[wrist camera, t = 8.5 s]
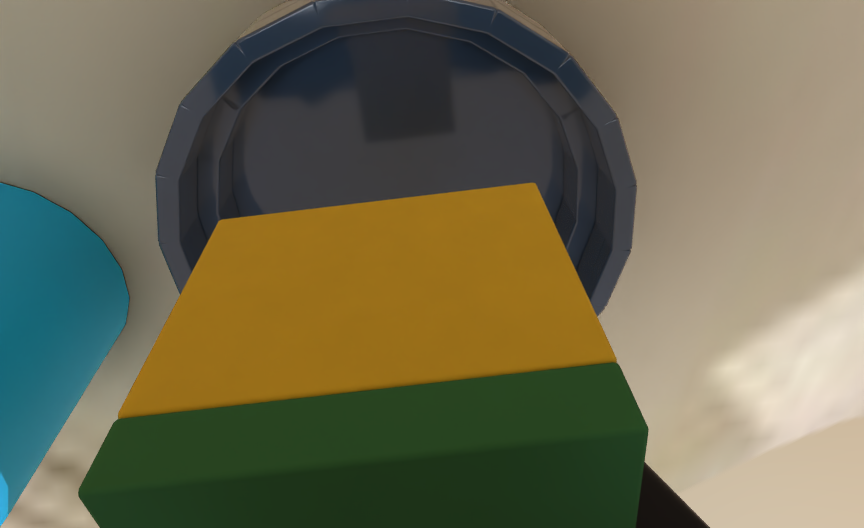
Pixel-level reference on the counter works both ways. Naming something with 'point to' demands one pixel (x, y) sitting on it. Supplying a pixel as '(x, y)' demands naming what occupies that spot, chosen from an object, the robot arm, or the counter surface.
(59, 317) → the mug
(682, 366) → the counter surface
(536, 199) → the sponge
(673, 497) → the robot arm
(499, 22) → the bowl
